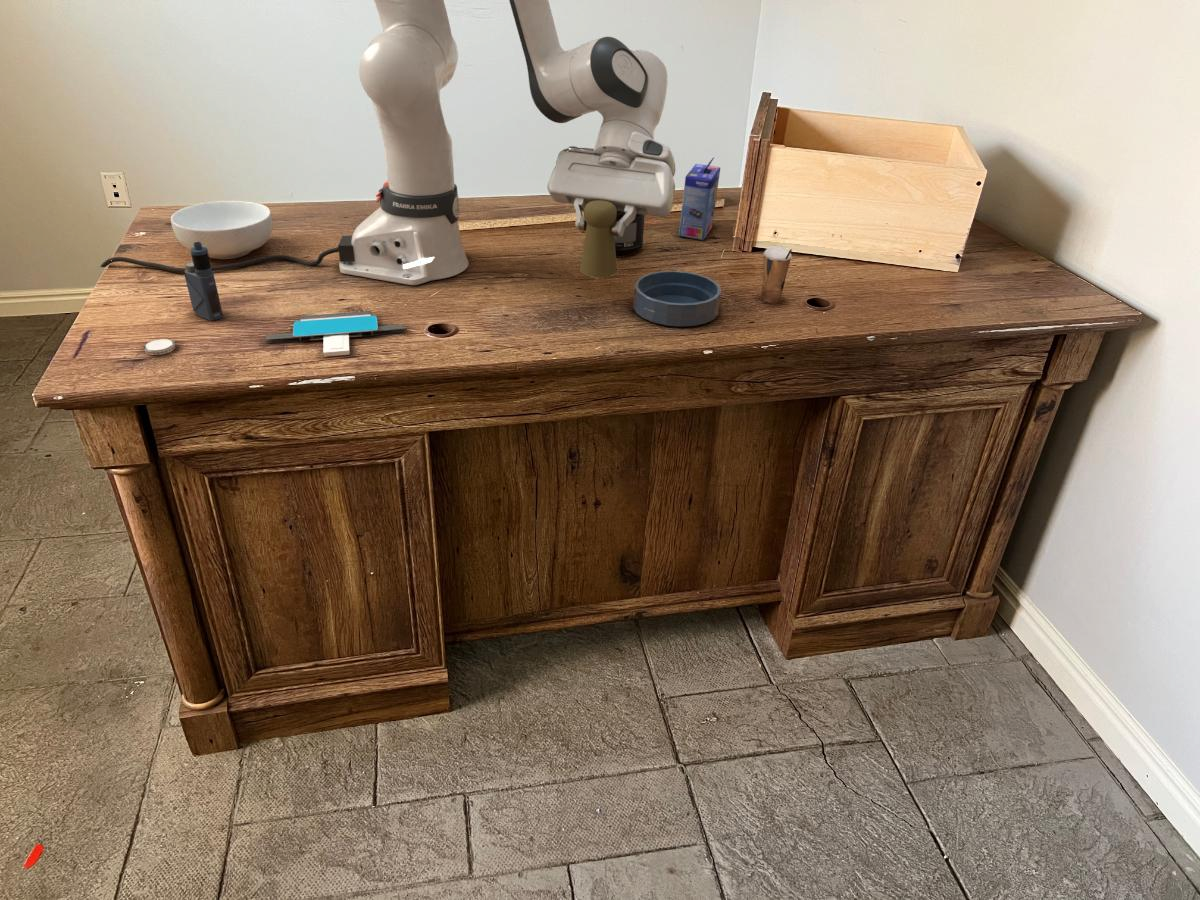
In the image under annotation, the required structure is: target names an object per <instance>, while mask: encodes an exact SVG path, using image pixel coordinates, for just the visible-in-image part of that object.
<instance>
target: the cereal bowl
mask: <svg viewBox="0 0 1200 900" xmlns="http://www.w3.org/2000/svg"><path fill="white" fill-rule="evenodd" d="M170 224H171V228H172V231H173V234H174V236H175V237H176V239H177V241H178V242H179V243H180V244H181V245H182V246H183V247H184V248H186V249H188V250H189V251H190V249H192V248H194V244H193V243H195V242H201V245H202V247H206V248H207V250H208V254H209V259H210V258H211V259H214V260H232V259H238V258H242V257H245V256H247V255H249V254H250V253H251V252H253V251H254V250H257V249H258V248H260V247H262V246H263V245H265V244H266V242H267V241H268V240H269V239H270V237H271V235H272V233H273V216H272V211H271V209H270V208H269V207H268V206H266V205H265V204H261V203H258V202H253V201H246V200H216V201H215V200H214V201H208V202H200V203H196V204H192V205H188V206H185V207H182V208H180V209H178V210H176V211H175V212H174V213H173V214H172V215H171V217H170Z"/></svg>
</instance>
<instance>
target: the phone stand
mask: <svg viewBox="0 0 1200 900" xmlns="http://www.w3.org/2000/svg"><path fill="white" fill-rule="evenodd" d="M402 333H403V334H404V333H405V325H404V324H403V323H401V324H391V325H389V324H388V325H387V324H386V325H379V323H378V317H377V315H373V312H372V310H364V311H350V312H337V313H324V314H311V315H309V314H308V315H299V316H298V318H297V320H296V321H294V322H293V329H292V332H286V333H285V332H284V333H274V334H266V335H265V340H266V344H277V343H278V344H279V347H280V346H281V345H280V344H283V343H284V344H285V343H296V342H297V343H298V342H309V341H320V340H323V343H322V344H323V345H322V346H323V347H322V348H323V349H322V350H323V352H322V354H323V358H326V357H335V356H349V355H351V351H350V338H359V337H360V338H361V337H370V336H371V337H372V336H383V335H394V334H402Z"/></svg>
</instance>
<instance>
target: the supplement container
mask: <svg viewBox="0 0 1200 900" xmlns="http://www.w3.org/2000/svg"><path fill="white" fill-rule="evenodd" d="M624 215H625V212H623V211H617V217H616V221H620V220H621V219H622V217H623V216H624ZM645 217H646V215H644V214H637V213H636V217H635V219H634V220H633V221H632V222H631V223H630V224H629V225H628V226H627V227H625V230H624V233H623V236H622V237H620V236H615V235H614V241H615V251H616V258H618V257H628V256H633V255H635V254H637V253H639V252H640V251H641V250H642V249H643V246H644V235H645V234H644V233H645Z"/></svg>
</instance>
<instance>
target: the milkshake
mask: <svg viewBox="0 0 1200 900" xmlns="http://www.w3.org/2000/svg"><path fill="white" fill-rule="evenodd" d="M792 251H793V249H792V248H791V249H789V250H788V248H785V247H782V246H779V245H774V246H769V247H768V248H766V249H765V250H764V251H763V259H762V260H763V261H762V262H763V263H762V283H761V301H762V302H764V303H767V304H778V303H781V300H782V296H783V293H784V292H783V291H784V287H785V283H786V278H787V274H788V271H789V267H790V265H791V259H792V255H793V254H792V253H791V252H792Z"/></svg>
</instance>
